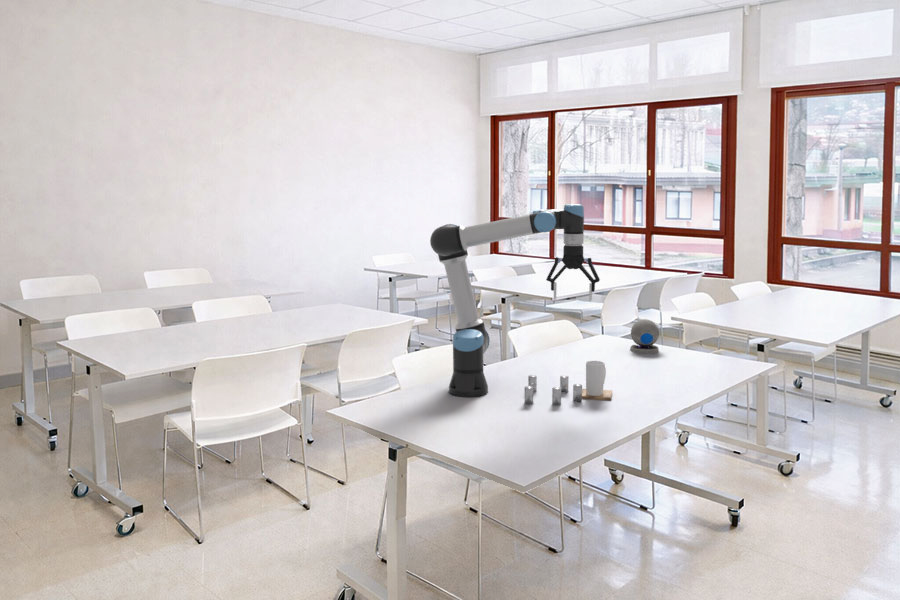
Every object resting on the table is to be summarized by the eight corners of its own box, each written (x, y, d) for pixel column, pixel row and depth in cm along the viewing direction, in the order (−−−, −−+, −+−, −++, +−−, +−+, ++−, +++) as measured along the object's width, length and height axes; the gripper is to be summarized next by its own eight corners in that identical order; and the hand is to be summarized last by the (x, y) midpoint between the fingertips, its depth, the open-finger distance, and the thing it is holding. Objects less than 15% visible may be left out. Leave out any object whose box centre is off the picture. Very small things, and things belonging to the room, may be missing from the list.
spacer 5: (572, 401, 275) (572, 385, 274) (573, 399, 278) (573, 383, 277) (581, 402, 274) (581, 386, 273) (582, 399, 277) (582, 384, 276)
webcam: (655, 347, 360) (656, 317, 358) (660, 353, 348) (661, 322, 346) (628, 347, 362) (629, 317, 359) (632, 353, 349) (633, 322, 347)
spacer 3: (551, 405, 271) (551, 389, 270) (552, 402, 274) (552, 386, 273) (560, 405, 270) (560, 389, 269) (561, 403, 273) (561, 387, 272)
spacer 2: (523, 404, 272) (523, 388, 271) (525, 401, 275) (525, 386, 274) (532, 404, 271) (532, 388, 270) (533, 402, 274) (533, 386, 273)
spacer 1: (527, 392, 288) (527, 377, 287) (528, 389, 291) (528, 374, 290) (535, 392, 287) (536, 377, 286) (537, 390, 290) (537, 375, 289)
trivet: (578, 398, 279) (578, 395, 278) (580, 391, 288) (580, 388, 288) (610, 400, 276) (610, 397, 275) (612, 392, 285) (612, 390, 285)
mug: (596, 397, 276) (597, 366, 274) (581, 393, 281) (582, 362, 279) (612, 392, 283) (613, 361, 281) (597, 388, 287) (598, 358, 286)
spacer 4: (559, 392, 287) (559, 377, 286) (560, 390, 290) (560, 375, 289) (567, 393, 286) (568, 377, 285) (568, 390, 289) (568, 375, 288)
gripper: (539, 245, 285) (539, 300, 289) (606, 246, 279) (604, 302, 283) (542, 243, 293) (541, 297, 296) (607, 244, 286) (605, 298, 290)
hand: (572, 299), depth 289 cm, fingers open, 13 cm apart
